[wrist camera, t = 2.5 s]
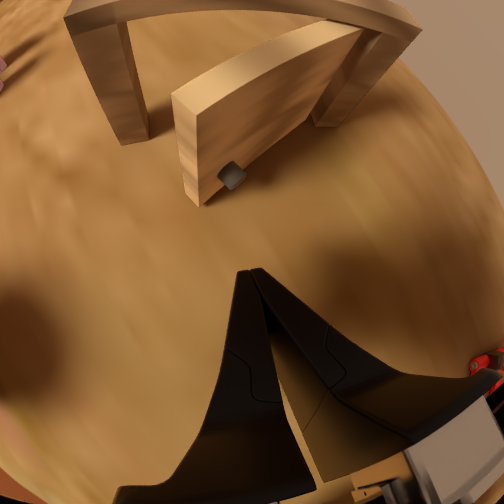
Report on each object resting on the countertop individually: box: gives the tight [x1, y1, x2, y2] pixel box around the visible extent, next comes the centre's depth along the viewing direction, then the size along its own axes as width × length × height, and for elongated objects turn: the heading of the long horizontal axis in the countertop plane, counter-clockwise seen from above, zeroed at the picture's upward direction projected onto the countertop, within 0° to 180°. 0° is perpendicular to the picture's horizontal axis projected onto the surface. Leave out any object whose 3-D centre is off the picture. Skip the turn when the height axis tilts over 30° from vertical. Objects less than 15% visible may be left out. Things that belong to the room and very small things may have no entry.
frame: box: [63, 0, 422, 145], centre depth 13 cm, size 16×2×11 cm, turn 100°
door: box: [171, 19, 365, 207], centre depth 13 cm, size 11×2×10 cm, turn 135°
